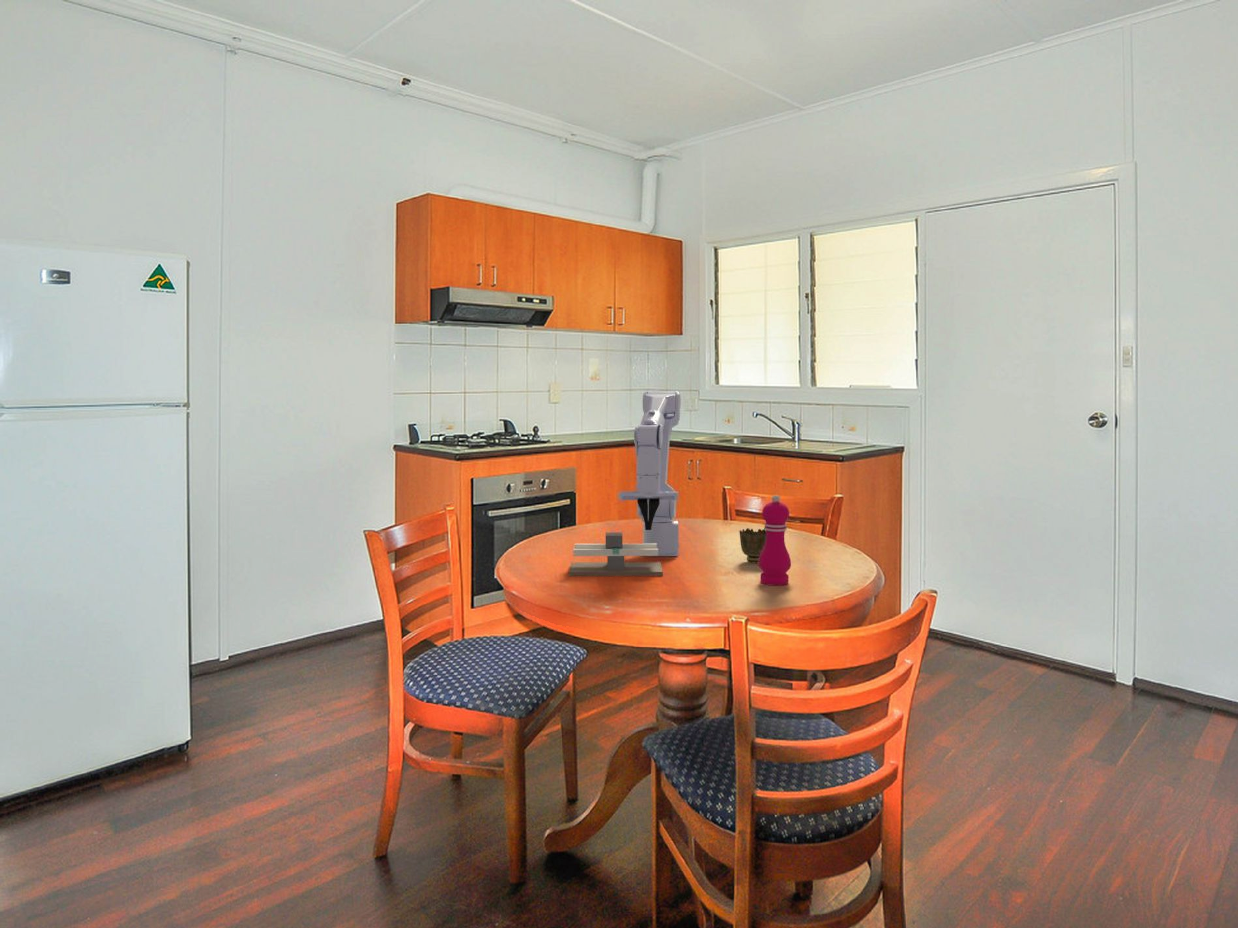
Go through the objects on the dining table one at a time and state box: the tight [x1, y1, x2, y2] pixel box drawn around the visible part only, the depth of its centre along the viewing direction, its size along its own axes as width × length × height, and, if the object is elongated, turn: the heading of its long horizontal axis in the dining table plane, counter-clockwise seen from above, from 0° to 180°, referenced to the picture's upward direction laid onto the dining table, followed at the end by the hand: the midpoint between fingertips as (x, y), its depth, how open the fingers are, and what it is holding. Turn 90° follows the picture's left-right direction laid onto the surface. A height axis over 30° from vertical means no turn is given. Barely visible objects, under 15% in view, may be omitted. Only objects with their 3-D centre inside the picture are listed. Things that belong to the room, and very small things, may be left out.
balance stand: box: [568, 542, 664, 577], centre depth 188 cm, size 22×10×6 cm, turn 91°
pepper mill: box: [758, 494, 792, 586], centre depth 177 cm, size 7×7×20 cm
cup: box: [739, 527, 766, 564], centre depth 197 cm, size 8×7×8 cm
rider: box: [605, 531, 623, 549], centre depth 188 cm, size 4×4×4 cm
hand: (648, 529), depth 192 cm, fingers closed
